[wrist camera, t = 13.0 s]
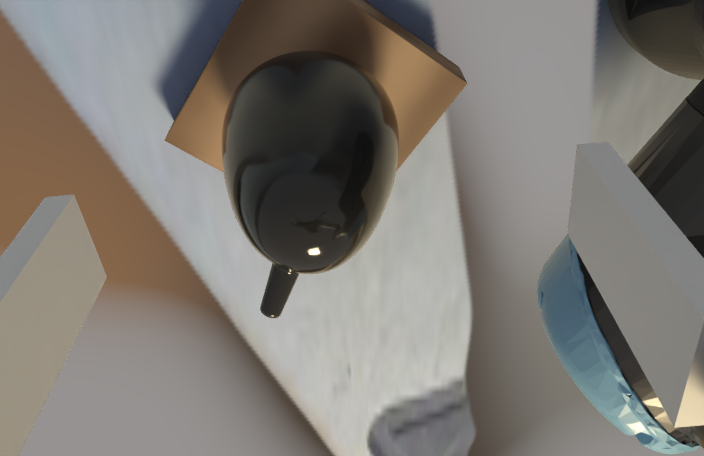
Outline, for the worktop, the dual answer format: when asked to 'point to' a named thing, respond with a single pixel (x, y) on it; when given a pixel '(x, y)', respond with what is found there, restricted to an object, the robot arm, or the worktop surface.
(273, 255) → the glossy black egg shape
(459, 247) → the worktop surface
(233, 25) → the walnut stand
